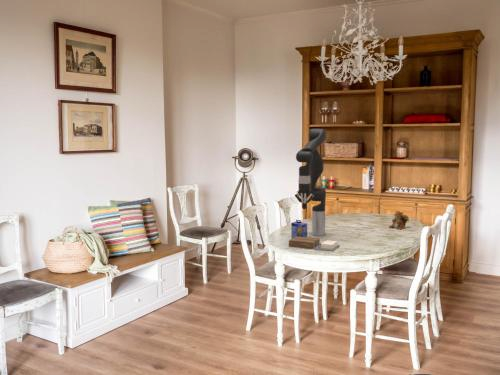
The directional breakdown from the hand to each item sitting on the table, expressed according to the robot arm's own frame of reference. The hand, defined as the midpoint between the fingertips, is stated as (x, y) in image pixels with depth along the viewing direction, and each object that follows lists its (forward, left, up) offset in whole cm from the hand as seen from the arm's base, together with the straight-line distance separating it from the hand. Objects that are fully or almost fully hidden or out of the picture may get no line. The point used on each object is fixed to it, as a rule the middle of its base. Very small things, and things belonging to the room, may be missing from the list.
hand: (304, 208), depth 319 cm
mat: (+2, +16, -24) cm, 28 cm away
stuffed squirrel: (-80, +47, -24) cm, 96 cm away
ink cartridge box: (-10, -7, -24) cm, 27 cm away
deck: (+2, +1, -24) cm, 24 cm away
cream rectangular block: (+2, +18, -22) cm, 28 cm away
